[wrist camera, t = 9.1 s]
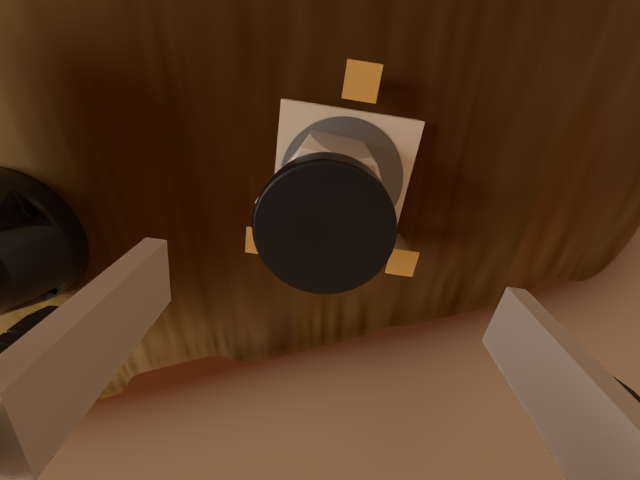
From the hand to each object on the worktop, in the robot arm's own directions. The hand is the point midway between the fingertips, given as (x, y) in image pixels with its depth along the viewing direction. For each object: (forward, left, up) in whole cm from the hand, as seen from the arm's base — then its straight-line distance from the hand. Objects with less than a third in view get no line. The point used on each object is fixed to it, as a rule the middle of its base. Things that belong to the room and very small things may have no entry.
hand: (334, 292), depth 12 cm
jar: (-1, 0, -18) cm, 18 cm away
